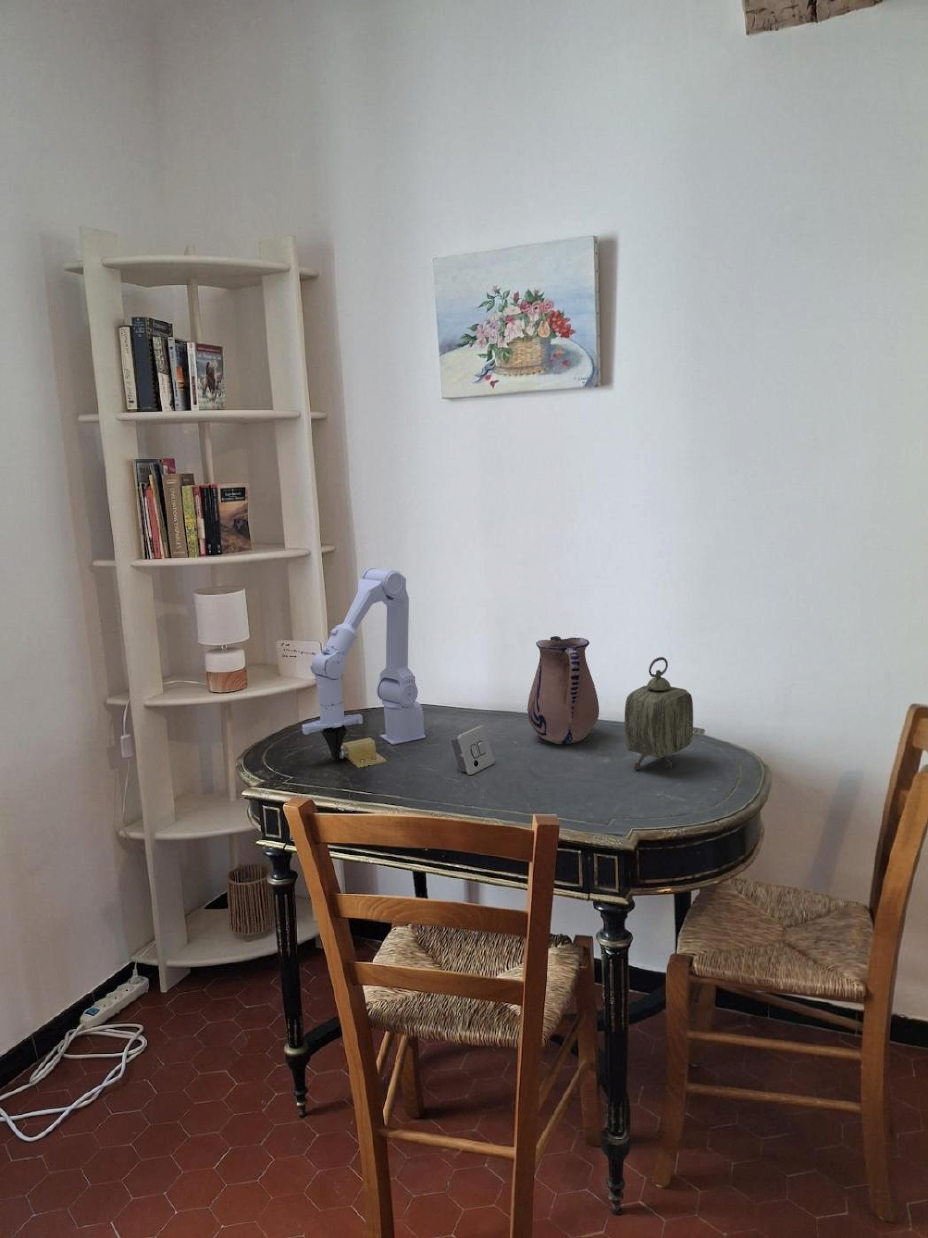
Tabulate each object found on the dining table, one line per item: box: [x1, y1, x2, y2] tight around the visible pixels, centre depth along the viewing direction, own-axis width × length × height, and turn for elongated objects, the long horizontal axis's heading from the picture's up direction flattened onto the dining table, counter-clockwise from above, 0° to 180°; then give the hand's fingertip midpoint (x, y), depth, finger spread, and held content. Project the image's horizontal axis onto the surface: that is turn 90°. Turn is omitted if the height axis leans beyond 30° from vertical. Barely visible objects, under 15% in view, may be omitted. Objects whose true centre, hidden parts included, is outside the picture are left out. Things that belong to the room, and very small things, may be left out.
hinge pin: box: [339, 748, 348, 760], centre depth 223 cm, size 9×3×3 cm, turn 118°
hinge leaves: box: [341, 737, 387, 769], centre depth 223 cm, size 7×16×3 cm, turn 28°
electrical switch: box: [450, 725, 495, 776], centre depth 210 cm, size 9×5×9 cm, turn 141°
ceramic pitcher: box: [527, 635, 600, 745], centre depth 224 cm, size 18×21×25 cm
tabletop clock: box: [623, 656, 694, 771], centre depth 203 cm, size 14×9×25 cm, turn 135°
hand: (335, 756), depth 220 cm, fingers closed
